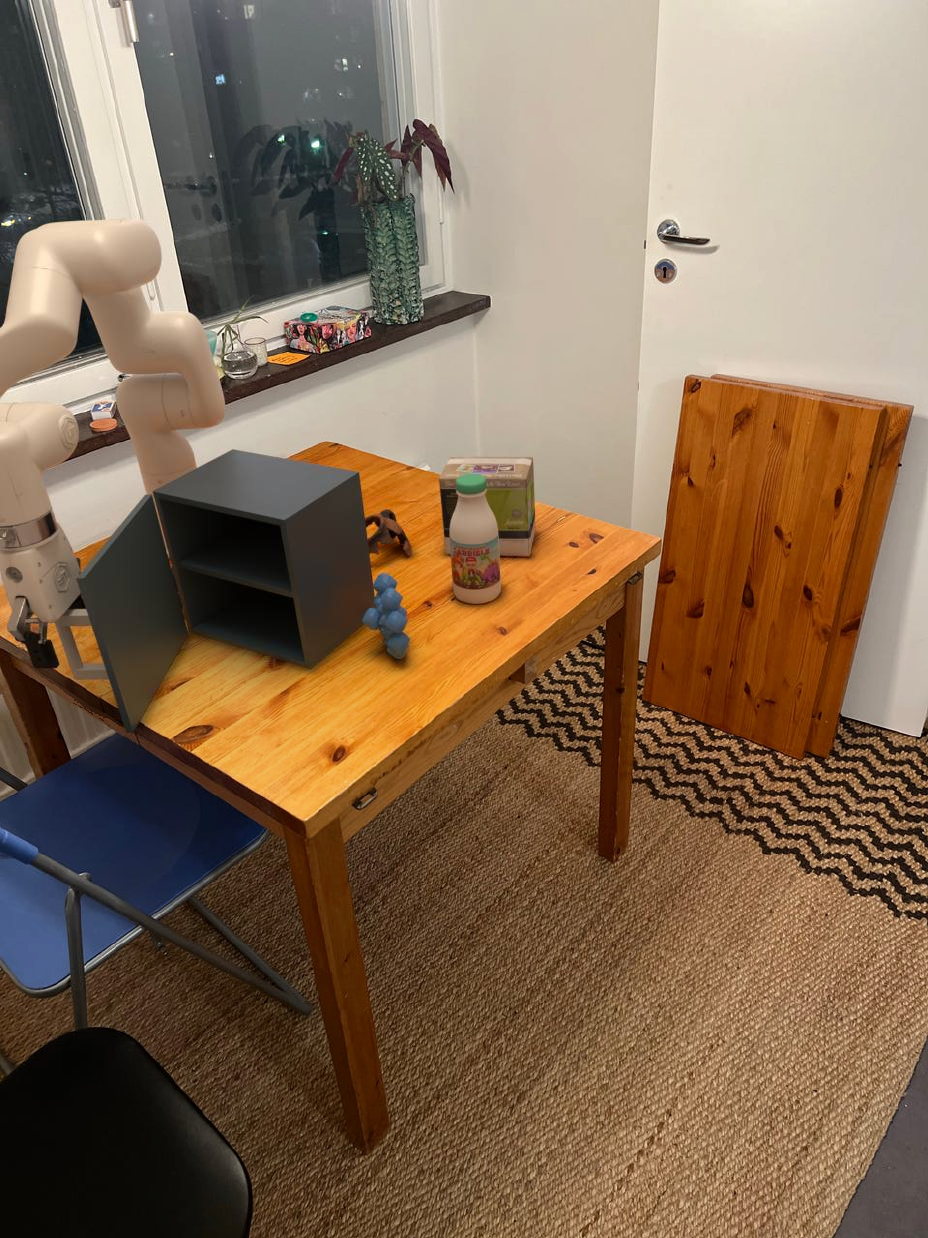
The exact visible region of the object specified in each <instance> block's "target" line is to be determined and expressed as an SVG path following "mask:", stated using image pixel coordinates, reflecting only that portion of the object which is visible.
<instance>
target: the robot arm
mask: <svg viewBox="0 0 928 1238" xmlns="http://www.w3.org/2000/svg"><path fill="white" fill-rule="evenodd" d="M162 258H163V255H162V247H161V243H160V239H159V237H158V235H157V233H156V232H155V230H154V229H153V227H152V226H151V225H150V224H149V223H148V222H146V221H145V220H143V219H141V218H137V217H133V218H132V217H130V218H127V217H126V218H111V219H109V218H108V219H94V220H91V219H90V220H89V219H88V220H87V219H86V220H69V221H58V222H57V221H56V222H49V223H45V224H42V225H40V226H38V227H37V228H35V229H32V230H30V231H28V232H26V233H24V235H22V236H21V238H20V239H19V241H18V244H17V245H16V250H15V256H14V261H13V268H12V273H11V278H10V279H11V281H10V286H9V293H8V298H7V304H6V312H5V318H4V322H3V324H2V326H0V399H1V398H2V397H3V396H4V395H5V394H6V393H7V391H9V389H11V388H12V387H13V386H14V385H16V384H17V383H19V382H20V381H22V380H24V379H26V378H27V377H30V376H32V375H33V374H36V373H38V372H40V371H42V370H44V369H46V368H48V367H51V366H52V365H54V364H56V363H58V362H60V361H62V360H64V359H65V358H66V357H67V356H69V355H70V354H71V353H72V352H73V351H74V350H75V348H76V346H77V343H78V335H79V327H80V318H81V310H82V305H83V300H84V301H85V304H86V305H87V307H88V308H87V309H88V310H89V312H90V315H91V318H92V320H93V322H94V325H95V328H96V330H97V333H98V336H99V338H100V341H101V344H102V346H103V348H104V351H105V353H106V356H107V358H108V360H109V362H110V364H111V365H112V366H113V368H114V369H115V370H117V371H118V372H119V373H121V374H124V375H129V376H127V377H125V378H124V379H123V380H122V381H120V382H119V384H118V385H117V387H116V391H115V405H116V407H117V411H118V414H119V416H120V418H121V420H122V422H123V425H124V426H125V429H126V431H127V433H128V435H129V438H130V441H131V443H132V446H133V450H134V453H135V456H136V459H137V463H138V467H139V471H140V475H141V478H142V483H143V486H144V490H145V495H146V494H152V497H153V500H154V504H155V508H156V512H157V516H158V520H159V524H160V527H161V531H162V535H163V539H164V543H165V547H166V551H167V554H168V558H169V559H170V557H169V553H168V549H167V545H166V541H165V537H164V534H163V530H162V526H161V522H160V518H159V514H158V510H157V506H156V503H155V499H154V495H153V491H154V490H156V489H158V488H160V487H162V486H163V485H165V484H167V483H169V482H171V481H173V480H175V479H177V478H179V477H181V476H183V475H185V474H186V473H188V472H190V471H192V470H194V469H196V468H198V465H197V462H196V456H195V453H194V450H193V447H192V445H191V443H190V442H189V441H188V439H187V438H186V437H185V436H184V435H183V434H182V433H181V432H180V431H179V430H198V429H207V428H209V429H210V428H213V427H216V426H218V425H219V424H221V422H222V421H223V420H224V418H225V414H226V402H225V395H224V391H223V388H222V384H221V383H222V382H221V380H220V376H219V374H218V370H217V366H216V363H215V360H214V355H213V352H212V349H211V345H210V342H209V338H208V336H207V333H206V331H205V328H204V326H203V324H202V323H201V321H200V320H199V318H197V316H196V315H194V314H193V313H191V312H189V311H185V310H163V311H161V310H160V311H154V310H152V309H151V308H150V307H149V306H148V303H147V300H146V298H145V295H144V292H143V289H142V286H145V285H146V284H149V283H151V282H152V281H154V280H155V279H156V277H157V276H158V274H159V272H160V269H161V266H162V261H163V260H162ZM79 438H80V429H79V424H78V422H77V419H76V417H75V415H74V414H73V412H72V411H71V410H69V408H67V407H66V406H65V405H63V404H60V403H57V402H52V401H27V402H3V403H2V402H1V403H0V577H1V581H2V585H3V589H4V591H5V595H6V597H7V601H8V603H9V607H10V609H11V613H10V616H9V619H8V622H7V625H6V630H7V632H8V633H9V634H10V635H11V636H12V637H13V638H14V640H15V642H19V643H20V644H21V645H25V648H26V650H27V653H28V656H29V659H30V661H31V664H32V666H33V668H35V669H58V668H59V666H60V661H59V658H58V655H57V652H56V650H55V646H54V644H53V641H52V639H51V638H49V639H48V626H49V624H55V623H54V622H56V621H57V620H58V619H59V618H60V617H61V616H62V615H63V614H64V612H65V611H66V610H67V609H86V607H85V604H84V601H83V598H82V595H81V592H80V589H79V586H78V583H77V579H76V578H77V577H78V576H79V574H80V573H81V572H82V564H81V558H80V557H79V556H76V555H75V552H74V550H73V548H72V545H71V543H70V541H69V538H68V536H67V535H66V533H65V530H64V529H63V528H62V526H61V525H60V523H59V522H58V521H57V518H56V515H55V513H54V509H53V506H52V503H51V500H50V496H49V493H48V489H47V487H46V485H45V481H44V477H43V473H44V472H45V471H48V470H49V469H51V468H53V467H55V466H58V465H59V464H62V463H63V462H65V461H66V460H68V459H69V458H70V457H71V456H72V454H73V453H74V452H75V450H76V449H77V446H78V443H79ZM33 615H35V617H33ZM32 625H38V626H37V632H34V631H32V630H31V626H32Z"/></svg>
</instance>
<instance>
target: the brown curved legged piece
mask: <svg viewBox="0 0 928 1238" xmlns="http://www.w3.org/2000/svg"><path fill="white" fill-rule="evenodd" d="M365 522H366V529H367V528H368V527H369V526H371V525H372V524H373V523H374V525H375V526H376V527H377V530H376V531H375V532H374V533H373V534H372V535H371V536H370V537H367V538H368V546H369V554H370V555H371V554H375V555H380V552H379V544H382V545H383V544H392V543H394V541H395V540H394V539H395V538H396V537H397V540H398V543H399V545H401V546H402V551H403V552H405V554H406V557H407V558H410V557H411V554H412V551H413V549H412V546H411V544H410V541H409V538H408V536H407V534H406V532H405V531H404V529H403V527H402V526H401V525H400V524H399V523H398V521H397V517H396V514H395V513H394V512H393V510H391V509H388V508H385V509H384V510H381V511H380V512H379V513H374V514H370V515H368V516H365Z"/></svg>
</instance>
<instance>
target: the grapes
mask: <svg viewBox="0 0 928 1238" xmlns="http://www.w3.org/2000/svg"><path fill="white" fill-rule="evenodd" d="M397 586H398V580H396V579H395V578H394V577H393V576H392V575H390V574H389V573H379V574H378V575H377V577H375V580H374V581H373V588H374V591H376V594H375V598H374V604H375V605H376V607H375V608H369V609H368V610H367V611H366V613H365V615H364V617H363V620H362V622H363V623H364V625H365V626H366V627H367V628H369V629H370V630H371V631H377V630H378V631H379V632H380V633H379V634H380V635H382V636H383V639H382V643H383V644H384V645H385V646H386V651H387V653H388V654H389V655H391V657H393V658H394V659H396V660H402V659H404V658H405V656H406V655H407V652H408V649H409V648H410V647H409V646H410V645H409V644H410V642H411V638H410V637H409V636H408V635H407V634H406V633H405V632H404V631H405V628H406V626H407V624H408V621H409V619H408V618H407V614H408V611H407V609H405V608H404V607H403V606H402V605H401V604H402V601H403V600H404V599H403V598H404V596H402V594H401V593H400V592H399V591H398V590H396V588H397Z"/></svg>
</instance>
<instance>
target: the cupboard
mask: <svg viewBox="0 0 928 1238" xmlns="http://www.w3.org/2000/svg"><path fill="white" fill-rule="evenodd" d="M153 495H154V499H155V503H156V506H157V510H158V514H159V518H160V522H161V526H162V530H163V534H164V537H165V541H166V545H167V549H168V553H169V557H170V558H169V562H170V565H171V567H172V568H173V572H174V576H175V580H176V584H177V588H178V593H179V595H180V599H181V603H182V607H183V608H182V612H183V616H184V620H185V624H186V627H187V631H188V633H190V634H193V635H196V636H199V637H203V638H207V639H210V640H213V641H216V642H219V643H223V644H226V645H229V646H233V647H236V648H238V649H242V650H245V651H248V652H252V653H255V654H258V655H262V656H266V657H268V658H271V659H276V660H278V661H282V662H285V663H288V664H292V665H294V666H298V667H302V668H305V669H308V670H313V669H314V668H315V667H316V666H317V665H318V664H320V663H321V662H322V661H323V660H324V659H326V658H327V657H328V656H329V655H330V654H331V653H332V652H334V651H335V650H336V649H337V648H339V646H341V645H342V644H343V643H344V642H345V641H346V640H348V638H350V637H351V636H352V635H353V634H354V633H356V632H357V631H358V630H359V629H360V628H361V627H362V626H364V625H365V624H364V623H363V622H362V620H363V617H364V615H365V613H366V611H367V610H368V609H369V608H375V607H376V605H375V604H374V598H375V596H376V594H375V589H374V588H373V584H374V578H373V571H372V570H373V569H372V562H371V556H370V555H371V553H370V554H369V546H368V538H369V537H368V531H367V528H366V522H365V518H366V515H365V507H364V500H363V492H362V483H361V475H360V471H356V470H352V469H351V470H350V469H345V468H339V467H335V466H329V465H322V464H317V463H312V462H306V461H300V460H295V459H291V458H283V457H278V456H273V455H267V454H261V453H256V452H250V451H245V450H240V449H234V448H232V449H231V450H229V451H227V452H225V453H223V454H221V455H219V456H217V457H215V458H212V460H210V461H207V462H205V463H204V464H202V465H200V466H197V468H196V469H194V470H192V471H190V472H188V473H186V474H185V475H183V476H181V477H179V478H177V479H175V480H173V481H171V482H169V483H167V484H165V485H163V486H162V487H160V488H158V489H156V490H154V491H153Z"/></svg>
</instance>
